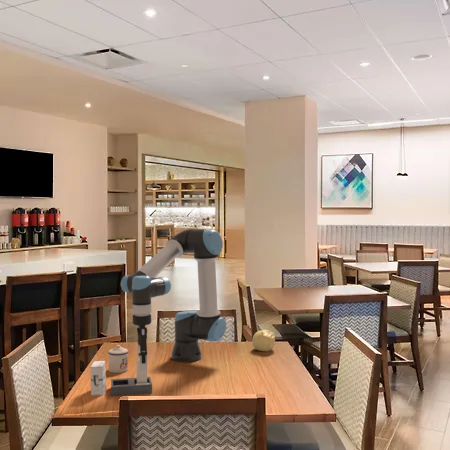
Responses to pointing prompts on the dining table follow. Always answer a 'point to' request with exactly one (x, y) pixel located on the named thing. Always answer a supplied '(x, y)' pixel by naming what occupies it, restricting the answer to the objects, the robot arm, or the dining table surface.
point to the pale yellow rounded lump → (263, 340)
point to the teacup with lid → (118, 359)
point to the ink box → (98, 378)
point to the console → (130, 387)
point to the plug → (141, 374)
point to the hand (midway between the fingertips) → (142, 365)
